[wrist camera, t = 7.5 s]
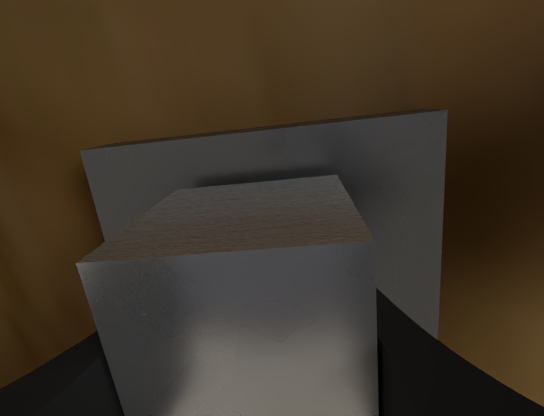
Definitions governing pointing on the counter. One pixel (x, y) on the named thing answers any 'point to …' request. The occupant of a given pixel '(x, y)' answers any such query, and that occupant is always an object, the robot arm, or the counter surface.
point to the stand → (300, 164)
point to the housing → (240, 303)
